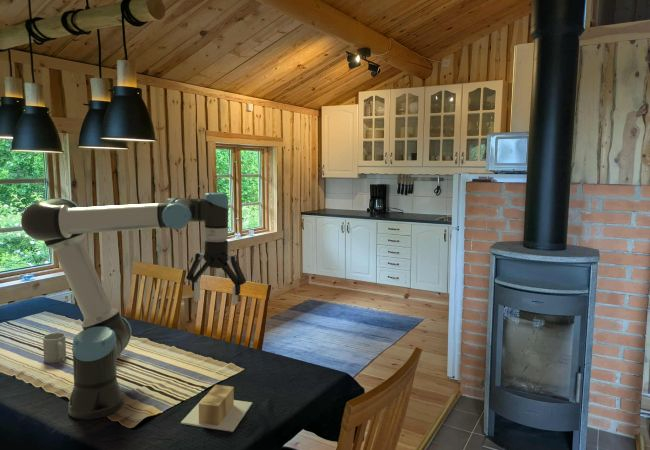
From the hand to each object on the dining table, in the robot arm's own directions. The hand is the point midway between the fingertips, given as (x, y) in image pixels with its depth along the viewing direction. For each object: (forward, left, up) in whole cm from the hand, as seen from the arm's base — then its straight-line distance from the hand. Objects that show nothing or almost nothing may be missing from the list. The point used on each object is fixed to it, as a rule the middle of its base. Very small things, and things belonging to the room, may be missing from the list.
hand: (215, 302), depth 159 cm
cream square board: (+9, -18, -29) cm, 35 cm away
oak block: (+9, -25, -25) cm, 36 cm away
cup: (-63, +1, -29) cm, 69 cm away
